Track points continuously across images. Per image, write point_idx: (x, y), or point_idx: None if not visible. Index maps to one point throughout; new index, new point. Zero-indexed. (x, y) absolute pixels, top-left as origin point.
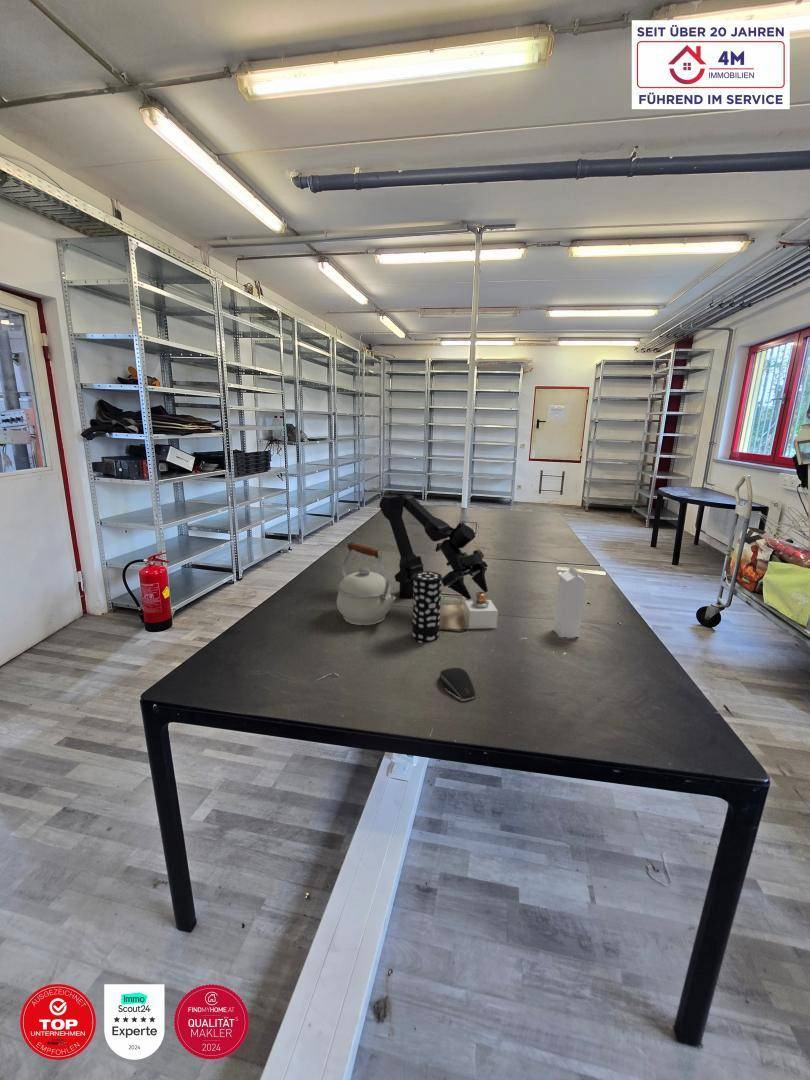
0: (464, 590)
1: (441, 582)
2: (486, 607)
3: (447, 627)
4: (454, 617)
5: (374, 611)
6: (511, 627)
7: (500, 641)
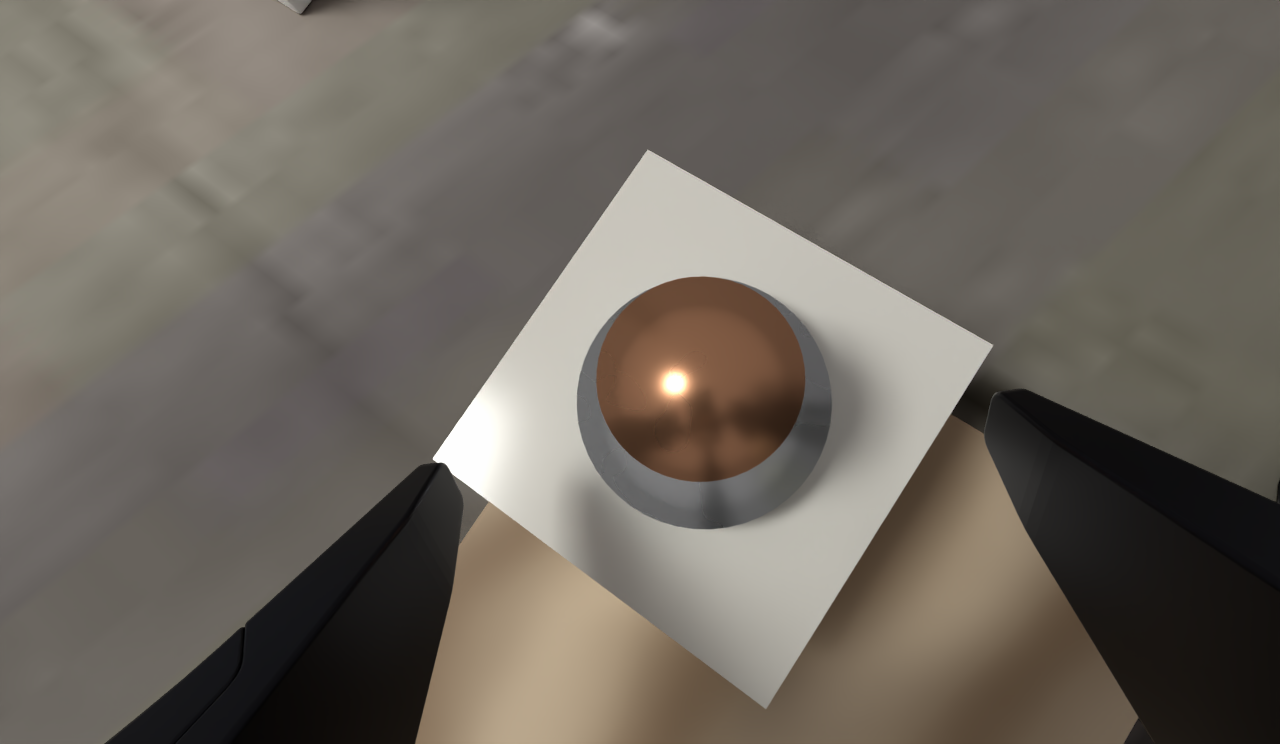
0: (1269, 524)
1: None
2: None
3: None
4: (850, 674)
5: None
6: (523, 207)
7: (808, 84)
